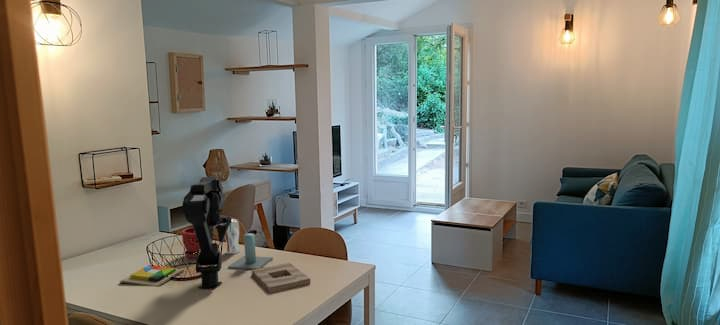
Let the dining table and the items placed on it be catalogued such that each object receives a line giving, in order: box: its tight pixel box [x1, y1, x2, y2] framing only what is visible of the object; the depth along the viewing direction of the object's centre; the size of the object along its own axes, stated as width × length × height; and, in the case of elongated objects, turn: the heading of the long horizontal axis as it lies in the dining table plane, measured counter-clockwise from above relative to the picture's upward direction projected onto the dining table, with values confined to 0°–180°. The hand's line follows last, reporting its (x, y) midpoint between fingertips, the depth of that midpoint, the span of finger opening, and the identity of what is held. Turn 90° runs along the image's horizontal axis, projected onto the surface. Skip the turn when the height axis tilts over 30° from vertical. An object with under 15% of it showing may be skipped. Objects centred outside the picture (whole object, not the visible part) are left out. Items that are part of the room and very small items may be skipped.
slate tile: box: [227, 255, 274, 271], centre depth 216 cm, size 14×14×1 cm
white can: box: [224, 218, 241, 255], centre depth 232 cm, size 7×7×15 cm
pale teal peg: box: [243, 232, 257, 264], centre depth 215 cm, size 4×4×12 cm
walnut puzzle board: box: [251, 262, 311, 293], centre depth 196 cm, size 22×16×2 cm
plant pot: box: [181, 226, 200, 259], centre depth 230 cm, size 13×13×12 cm
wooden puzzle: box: [119, 263, 185, 287], centre depth 204 cm, size 18×19×4 cm
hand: (215, 245), depth 203 cm, fingers open, 9 cm apart
